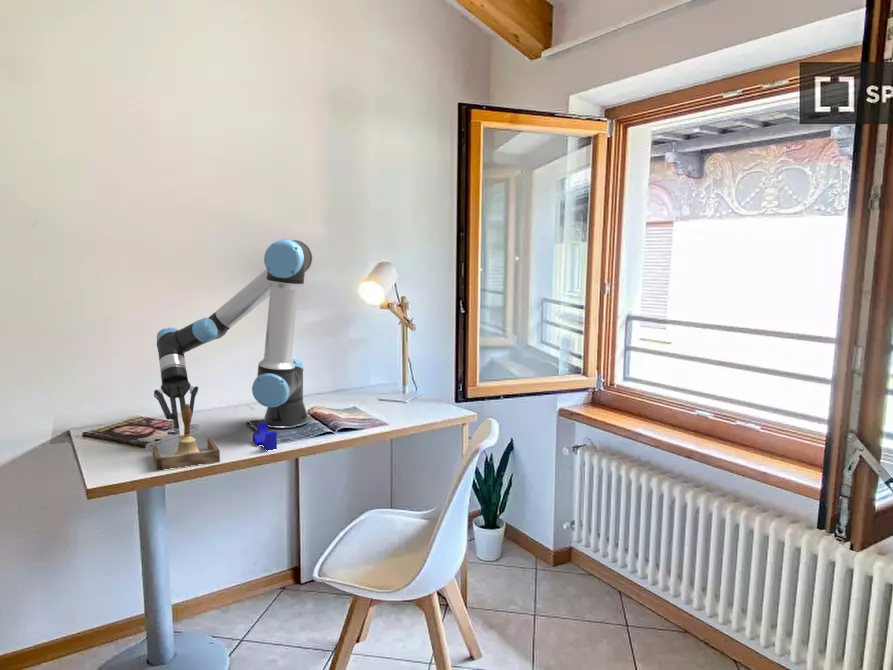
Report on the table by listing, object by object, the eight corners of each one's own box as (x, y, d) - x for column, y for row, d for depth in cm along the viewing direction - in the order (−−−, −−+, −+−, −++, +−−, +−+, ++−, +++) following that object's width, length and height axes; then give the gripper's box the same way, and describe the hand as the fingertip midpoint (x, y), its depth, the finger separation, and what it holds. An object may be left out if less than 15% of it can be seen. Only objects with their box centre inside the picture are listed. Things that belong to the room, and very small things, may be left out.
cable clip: (252, 441, 189) (252, 423, 188) (266, 439, 191) (266, 422, 190) (261, 453, 179) (261, 434, 178) (276, 451, 181) (276, 432, 180)
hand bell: (206, 451, 178) (204, 400, 176) (198, 461, 170) (196, 408, 168) (177, 452, 177) (175, 400, 175) (167, 462, 169) (165, 408, 167)
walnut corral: (211, 448, 181) (211, 437, 181) (219, 461, 170) (219, 450, 170) (152, 456, 173) (152, 444, 172) (157, 471, 162) (156, 459, 161)
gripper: (194, 376, 193) (204, 440, 181) (150, 379, 186) (158, 446, 175) (196, 363, 188) (207, 428, 176) (151, 366, 181) (159, 434, 169)
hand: (182, 437), depth 175 cm, fingers closed
